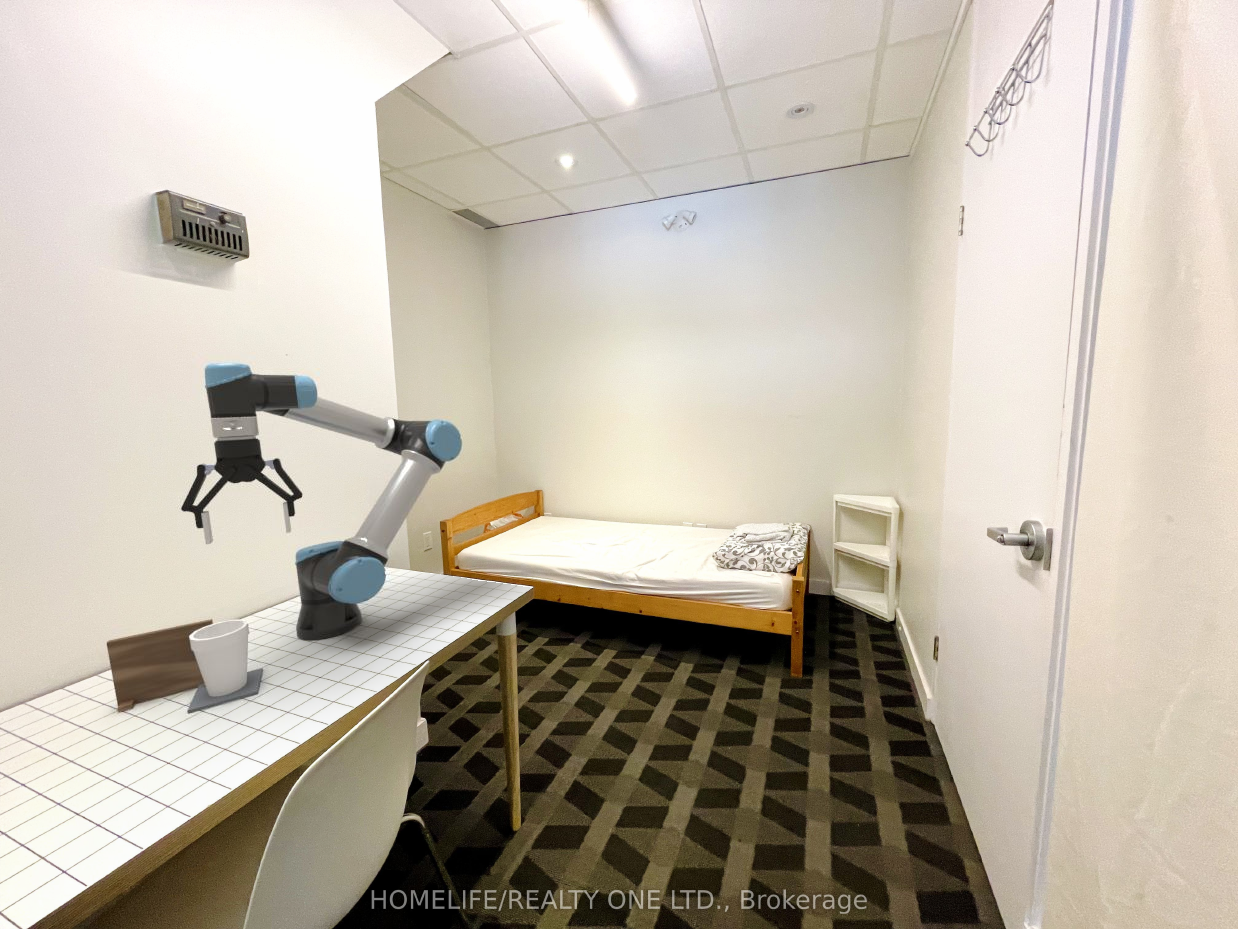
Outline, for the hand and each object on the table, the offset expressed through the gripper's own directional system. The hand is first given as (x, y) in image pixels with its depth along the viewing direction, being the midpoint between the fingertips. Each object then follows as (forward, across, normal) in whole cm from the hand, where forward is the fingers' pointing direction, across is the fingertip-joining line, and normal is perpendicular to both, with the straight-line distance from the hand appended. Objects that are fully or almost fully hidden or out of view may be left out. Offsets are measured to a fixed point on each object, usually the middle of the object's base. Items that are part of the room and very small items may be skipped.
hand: (250, 537), depth 102 cm
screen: (+32, -17, +4) cm, 36 cm away
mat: (+32, -7, -2) cm, 33 cm away
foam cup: (+31, -7, -2) cm, 32 cm away
